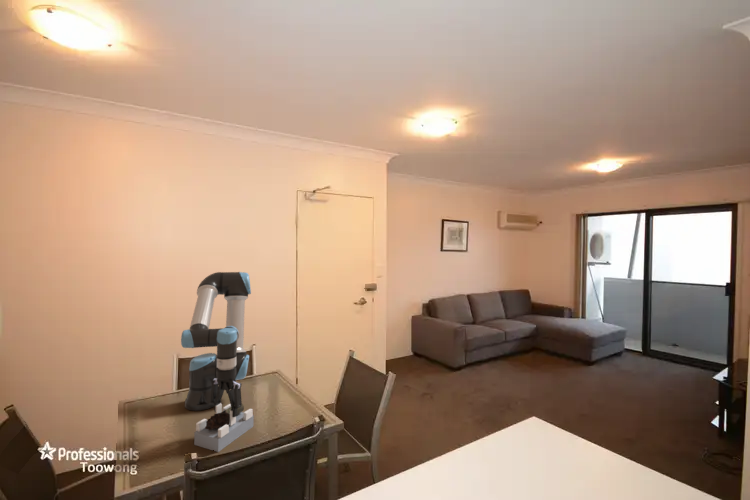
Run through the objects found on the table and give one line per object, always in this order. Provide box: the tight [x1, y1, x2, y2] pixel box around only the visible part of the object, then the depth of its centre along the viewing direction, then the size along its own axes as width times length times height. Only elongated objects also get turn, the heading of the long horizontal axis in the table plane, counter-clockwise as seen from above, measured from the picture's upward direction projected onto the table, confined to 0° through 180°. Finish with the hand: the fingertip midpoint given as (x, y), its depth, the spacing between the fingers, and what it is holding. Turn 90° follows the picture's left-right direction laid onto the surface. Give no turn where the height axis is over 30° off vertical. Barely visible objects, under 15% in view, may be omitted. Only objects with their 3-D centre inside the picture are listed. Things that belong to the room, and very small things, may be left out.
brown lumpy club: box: [205, 403, 245, 430], centre depth 146 cm, size 18×7×6 cm, turn 160°
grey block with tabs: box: [193, 403, 255, 453], centre depth 145 cm, size 12×20×8 cm, turn 160°
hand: (225, 421), depth 145 cm, fingers closed on brown lumpy club, 7 cm apart
